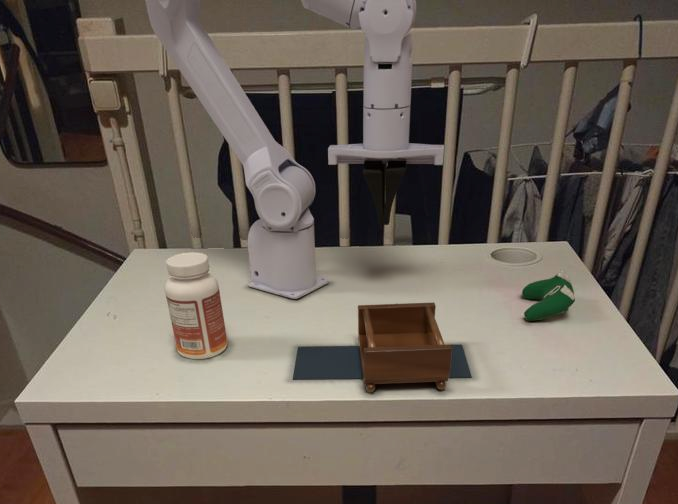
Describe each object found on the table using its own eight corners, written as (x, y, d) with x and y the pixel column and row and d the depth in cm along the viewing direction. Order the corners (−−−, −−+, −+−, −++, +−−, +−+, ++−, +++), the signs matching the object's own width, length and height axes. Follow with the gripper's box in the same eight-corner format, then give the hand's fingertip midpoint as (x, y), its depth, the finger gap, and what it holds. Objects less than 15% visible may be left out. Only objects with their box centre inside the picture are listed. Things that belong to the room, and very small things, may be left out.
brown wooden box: (358, 344, 76) (358, 305, 73) (431, 341, 76) (434, 302, 73) (364, 394, 66) (364, 351, 63) (448, 391, 66) (452, 348, 63)
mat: (292, 379, 70) (292, 378, 70) (297, 347, 76) (297, 346, 76) (471, 377, 69) (471, 376, 69) (462, 345, 75) (462, 344, 75)
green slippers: (539, 337, 80) (581, 307, 77) (521, 316, 79) (563, 285, 76) (535, 308, 87) (574, 280, 84) (519, 288, 86) (557, 259, 83)
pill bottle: (219, 334, 80) (205, 246, 73) (234, 353, 75) (222, 262, 68) (171, 344, 78) (153, 255, 71) (184, 365, 73) (166, 272, 66)
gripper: (447, 100, 77) (438, 214, 86) (332, 101, 79) (335, 213, 88) (447, 109, 72) (437, 230, 80) (323, 110, 74) (327, 228, 82)
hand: (384, 222), depth 84 cm, fingers closed
